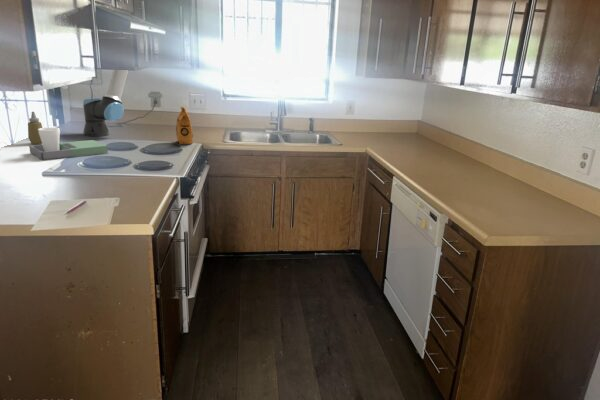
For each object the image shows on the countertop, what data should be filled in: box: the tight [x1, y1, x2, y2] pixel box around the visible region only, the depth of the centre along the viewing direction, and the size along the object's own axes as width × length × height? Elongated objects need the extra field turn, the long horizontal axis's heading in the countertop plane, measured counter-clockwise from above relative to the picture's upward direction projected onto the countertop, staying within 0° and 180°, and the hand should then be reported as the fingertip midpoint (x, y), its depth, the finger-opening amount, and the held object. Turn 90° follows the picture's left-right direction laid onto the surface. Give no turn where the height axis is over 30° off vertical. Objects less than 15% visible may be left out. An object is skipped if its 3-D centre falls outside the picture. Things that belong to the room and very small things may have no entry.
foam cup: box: [38, 126, 61, 152], centre depth 218 cm, size 10×9×13 cm
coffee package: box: [175, 106, 194, 145], centre depth 265 cm, size 10×12×22 cm
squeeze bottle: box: [27, 111, 43, 145], centre depth 241 cm, size 8×8×18 cm
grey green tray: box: [28, 139, 109, 161], centre depth 226 cm, size 32×19×4 cm, turn 136°
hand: (60, 87), depth 237 cm, fingers open, 13 cm apart
